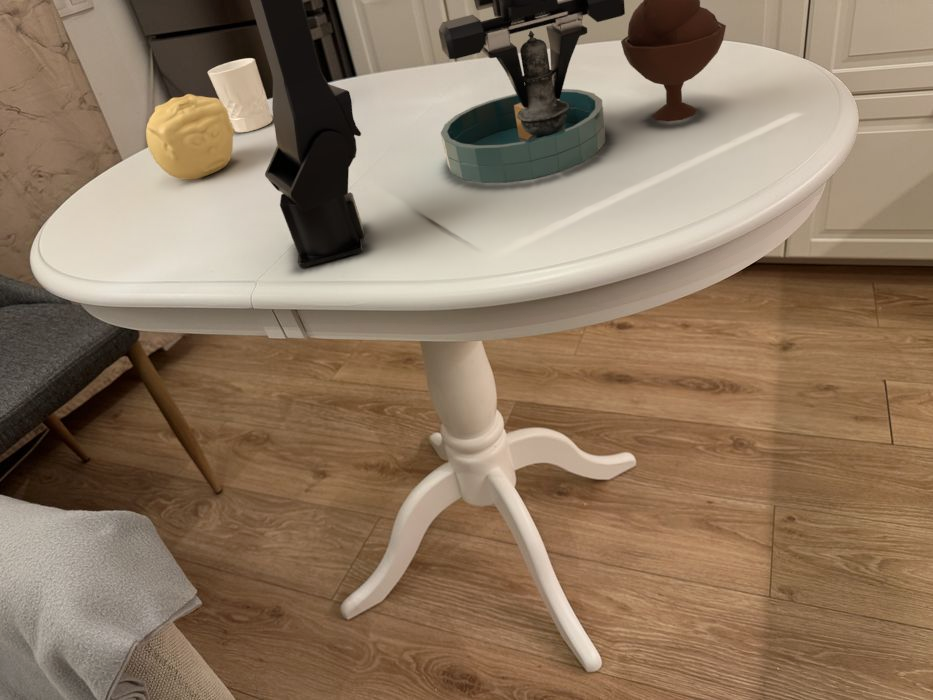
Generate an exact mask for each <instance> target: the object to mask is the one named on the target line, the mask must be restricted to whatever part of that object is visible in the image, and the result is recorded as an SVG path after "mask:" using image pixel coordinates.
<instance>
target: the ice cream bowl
mask: <svg viewBox="0 0 933 700" xmlns="http://www.w3.org/2000/svg"><path fill="white" fill-rule="evenodd" d="M726 28H727V25H726V24H725V23H722V22H720V21H718V19H717V17H716V15H715V13H713V12H712V11H710V10H709V9H707V8H705V7H701V0H643V1H642V2H640V4H639V5H638V6H637V7H636V9H635V10H634V11H633V12H632V15H631V16H630V20H629V22H628V28H627V36H625V37H624V38H623V39H622V40H621V41H620V43H621V47H622V51H623V54H624V57H625V58H626V60H627V62H628V64H629V65H630V67H632V68H633V69H634V70H635V71H636V72H637V73H639V74H640V75H641V76H642V77H643V78H644V79H646V80H647V81H649V82H652V83H653V84H658V85H662V86H663V88H664V90H665V104H664V105H662V106H661V107H659V108H658V109H657V110H656V111H655V112H654V113H653V114H652V115H651V118H652V119H654V121H659V122H666V123H667V122H676V121H682V120H685V119H689V118H691V117H694V116H695V115H696V114H697V113H698V109H696V107H694V106H693V105H690V104H688V103H686V102H683V94H682V91H683V90H682V89H683V86H684V83H685V82H687V81H689V80H692V79H693V78H695V77H696V76H698V75H699V73H701V72H702V71H703V70H704V69H705V68H706V67H707V66H708V64H709V63H711V61H712V60H713V59H714V57H715V56H716V55H717V54H718V53H719V51H720V48H721V46H722V44H723V42H724V38H725V33H726Z"/></svg>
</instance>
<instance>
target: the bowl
mask: <svg viewBox="0 0 933 700" xmlns="http://www.w3.org/2000/svg"><path fill="white" fill-rule="evenodd" d="M559 99H560V101H564V102H566V103H568V104H569V108H568V110H567V118H566V122H565V124H564V125H563V128H564V130H562V131H560V132H557V133H555V134H552V135H549V136H545V137H541V138H537V139H533V140H529V141H526V140H525V139H522V138H519V135H518V128H517V122H516V116H515V109H514V105H516V104H519V103H521V102H520V100H519V98H518V96H517V94H516V93H513V94H510V95H506V96H502V97H498V98H494V99H492V100H491V99H490V100H487V101H485V102H482V103H479V104H477V105H474V106H472V107H469V108H467V109H465V110H463V111H461V112H459V113H458V114H456V115H454V116H453V117H452V118H451V119H449V120H448V121H446V123H444V125H443V127H442V129H441V131H440V137H441V141H442V146H443V151H444V156H445V159H446V164H447V167H448V168H449V171H450V173H451V174H453V175H454V176H456V177H458V178H460V179H462V180H466V181H470V182H474V183H475V182H476V183H484V184H485V183H488V184H501V183H502V184H503V183H514V182H520V181H521V182H522V181H527V180H532V179H538V178H542V177H547V176H550V175H554V174H557V173H559V172H563V171H565V170H568V169H571V168H573V167H576V166H577V165H579V164H581V163H584V162H585V161H587V160H589V159H590V158H592V157H593V156H594V155H596V154H597V153H598V152H599V151H600V150H601V149H602V148H603V146H604V145H605V143H606V130H605V129H606V128H605V118H604V106H603V99H602V98H601V97H599V96H598V95H596V94H595V93H593V92H590V91H586V90H583V89H573V88H562V92H561V96H560V98H559Z"/></svg>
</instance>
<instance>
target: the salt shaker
mask: <svg viewBox="0 0 933 700" xmlns="http://www.w3.org/2000/svg"><path fill="white" fill-rule="evenodd" d="M527 36H528V37H529V38H528V39H527V40H526V41H525V42H524V43H523V44H522V45H521V46H520V49H519V50H520V51H519V52H520V53H519V55H520V59H521V64H522V66H521V67H522V73H523V79H524V83H525V88H526V93H527V103H528V107H526V108H524V109H522V110H520V111H519V112H518V114H517V118H518V119H519V120H521V125H522V126H523V128H524V130H525V131H526V132H528V133H529V134H531V135H532V136H531V137H530V138H529V139H528V140H526V141H529V140H533V139H537V138H541V137H545V136H549V135H552V134H555V133H557V132H560V131H562V130H560V129H561V128H562V127H563V125H564V124H565V122H566V118H567V110H568V108H569V104H568V103H566V102H564V101H558V100H557V99H556V96H555V93H554V90H553V83H552V75H553V74H554V71H552V70H551V66H550V61H549V53H548V47H547V43H546V42H545V41H544V40H542V39H541V38H540V39H539V38H536V37H534V36H535V33H534V32H533V31H532V30H529V33H528V35H527Z"/></svg>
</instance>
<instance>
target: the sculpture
mask: <svg viewBox="0 0 933 700" xmlns="http://www.w3.org/2000/svg"><path fill="white" fill-rule="evenodd" d="M145 134H146V135H145V136H146V144H147V147H148V150H149V153H150V155H151V156H152V158H153V160H154V161H155V163H156V164H157V165H158V166H159V168H160V169H161V170H162V171H164V173H166V174H168V176H171V177H173V178H177V179H182V180H195V179H201V178H204V177H206V176H209V175H211V174H214V173H216V172H218V171H220V170H223V169H224V168H225V167H226V166H227V165H228V164H229V162H230V160H231V158H232V155H233V145H234V134H235V130H234V128H233V126H232V124H231V121H230V119H229V115H228V112H227V109H226V108H225V107H224V105H223V104H222V102H221V101H220V100H219V98H217V97H209V96H207V97H206V96H202V95H195V94H192V93H187V94H185V95H184V96H181V97H172V98H170V99H169V100H168V101H167V102H164V103H163V104H159V105H156V106H155V107H154V112H153V113H152V114H151V116H150V117H149V120H148V122H147V124H146V131H145Z"/></svg>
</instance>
